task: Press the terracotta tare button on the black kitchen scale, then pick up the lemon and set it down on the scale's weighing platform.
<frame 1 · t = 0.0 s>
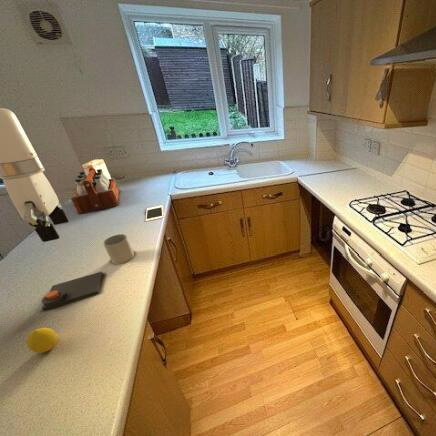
hand: (57, 231, 63), 32 cm above the worktop, tool pointing down, fingers open, 9 cm apart
coffeecake box: (103, 186, 186), on the worktop
milk bottle holder: (101, 201, 160), on the worktop
scale: (76, 291, 87), on the worktop
cup: (123, 259, 104), on the worktop
tare button: (52, 295, 81), point 4 cm above the worktop, slide at 0.1 cm
lemon: (50, 349, 68), on the worktop
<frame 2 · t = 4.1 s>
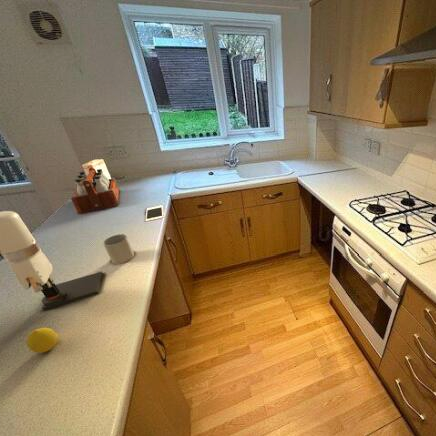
hand: (53, 294, 81), 4 cm above the worktop, tool pointing down, fingers closed
tare button: (53, 296, 81), point 3 cm above the worktop, slide at -0.6 cm, touching gripper
everything else where it was.
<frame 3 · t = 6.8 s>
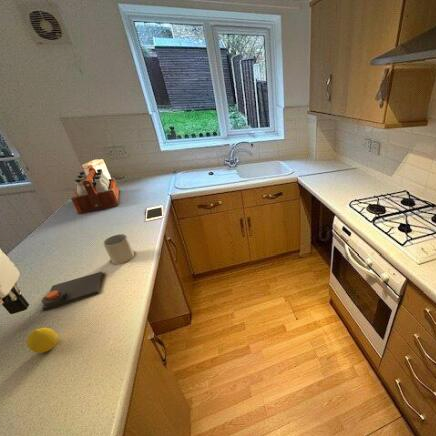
hand: (20, 309, 61), 15 cm above the worktop, tool pointing down, fingers closed
tare button: (52, 295, 81), point 4 cm above the worktop, slide at 0.1 cm
everything else where it was.
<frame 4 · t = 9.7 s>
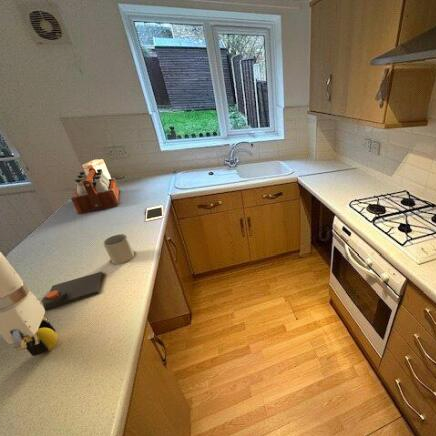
hand: (44, 342, 66), 3 cm above the worktop, tool pointing down, fingers closed on lemon, 5 cm apart
lemon: (50, 349, 68), on the worktop, touching gripper
everything else where it was.
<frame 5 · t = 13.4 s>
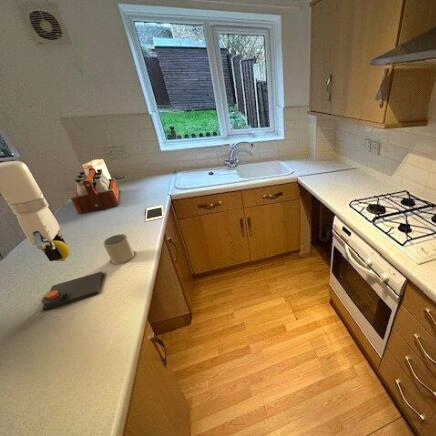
hand: (59, 253, 79), 17 cm above the worktop, tool pointing down, fingers closed on lemon, 5 cm apart
lemon: (63, 261, 80), point 14 cm above the worktop, touching gripper
everything else where it was.
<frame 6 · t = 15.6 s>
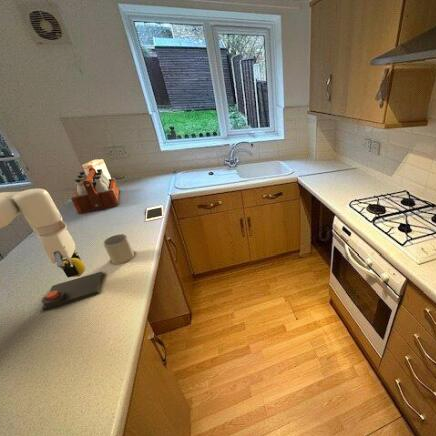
hand: (75, 270, 85), 8 cm above the worktop, tool pointing down, fingers closed on lemon, 5 cm apart
lemon: (79, 276, 87), point 5 cm above the worktop, touching gripper
everything else where it was.
when the fingers open (5 cm above the worktop, at t = 17.1 s): lemon stays where it is, resting on scale.
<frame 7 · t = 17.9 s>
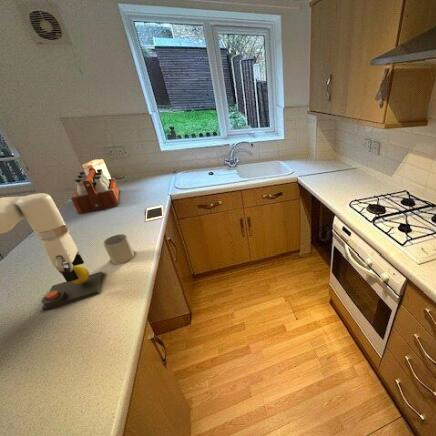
hand: (76, 271, 86), 7 cm above the worktop, tool pointing down, fingers open, 9 cm apart
lemon: (83, 283, 88), point 2 cm above the worktop, touching scale
everything else where it was.
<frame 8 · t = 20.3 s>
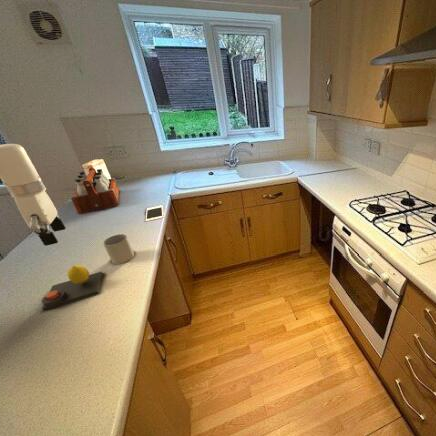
hand: (56, 236, 79), 22 cm above the worktop, tool pointing down, fingers open, 9 cm apart
nothing on the worktop moved.
at the end: tare button pushed in 0.9 cm at the most during the clip, back to where it started at the end; lemon inside the target area on the scale (0.0 cm from its centre), point 1.7 cm above the scale's base; lemon touching scale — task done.
